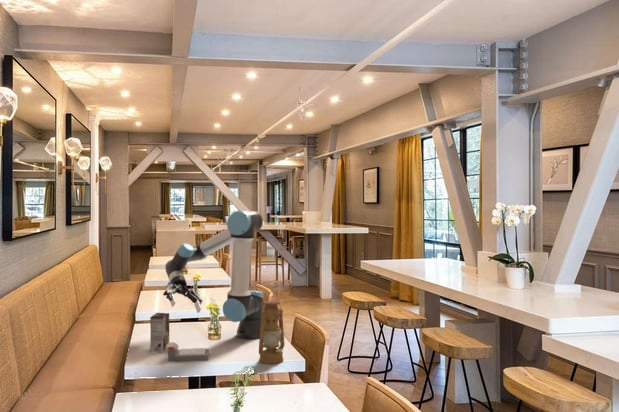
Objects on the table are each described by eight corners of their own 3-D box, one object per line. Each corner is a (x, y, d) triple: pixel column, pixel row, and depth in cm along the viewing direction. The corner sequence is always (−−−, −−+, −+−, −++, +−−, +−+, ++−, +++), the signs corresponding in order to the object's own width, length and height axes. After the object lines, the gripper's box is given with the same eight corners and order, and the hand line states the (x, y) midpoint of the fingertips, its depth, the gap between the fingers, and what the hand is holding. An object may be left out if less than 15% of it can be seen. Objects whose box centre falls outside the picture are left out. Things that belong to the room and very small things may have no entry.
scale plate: (205, 349, 227) (205, 347, 227) (204, 355, 218) (204, 353, 218) (180, 350, 226) (180, 348, 226) (178, 356, 217) (178, 354, 217)
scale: (209, 353, 228) (209, 336, 228) (208, 360, 218) (208, 342, 218) (168, 355, 225) (168, 338, 225) (165, 362, 216) (165, 344, 215)
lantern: (274, 367, 209) (274, 295, 209) (252, 364, 213) (252, 293, 213) (289, 357, 223) (289, 289, 223) (268, 354, 227) (268, 287, 227)
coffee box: (156, 346, 239) (156, 312, 239) (169, 346, 239) (169, 312, 239) (149, 352, 230) (149, 316, 230) (163, 352, 230) (163, 317, 230)
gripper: (195, 293, 262) (205, 319, 245) (151, 281, 248) (158, 307, 231) (202, 281, 261) (213, 307, 244) (158, 269, 246) (166, 295, 229)
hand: (186, 307), depth 237 cm, fingers open, 13 cm apart
